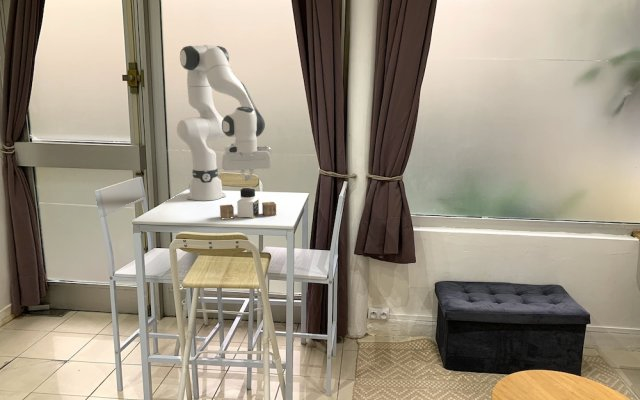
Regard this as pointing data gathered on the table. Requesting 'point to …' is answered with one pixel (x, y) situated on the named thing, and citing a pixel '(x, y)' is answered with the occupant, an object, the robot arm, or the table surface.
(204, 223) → the table surface
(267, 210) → the walnut block two bars
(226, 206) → the walnut block one bar
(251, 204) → the medicine bottle
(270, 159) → the robot arm
